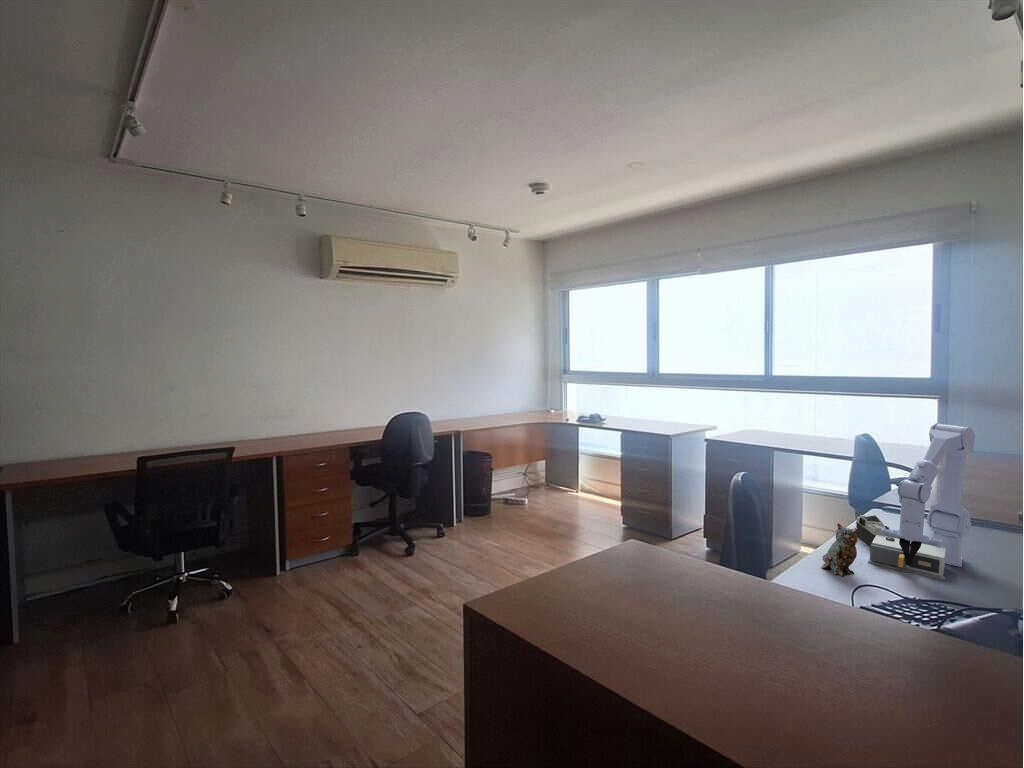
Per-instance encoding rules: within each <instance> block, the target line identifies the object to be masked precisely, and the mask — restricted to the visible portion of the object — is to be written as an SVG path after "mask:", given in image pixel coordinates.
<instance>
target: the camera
mask: <svg viewBox="0 0 1024 768" xmlns="http://www.w3.org/2000/svg"><path fill="white" fill-rule="evenodd" d="M855 524H856V525H855V528H856V527H857V528H858V529H857V531H856V533H857V536H858V539H857V540H858V541H860V542H861V541H862V542H863V543H862V542H861V543H862V544H864V545H865V546H866V547H867V546H868V547H867V548H868V549H870V547H871V545H872V542H873V540H874V538H875V536H876V535H881V530H882V528H883V529H889V530H891V529H890V527H889V526H887V525H884V523H883V522H882V520H880V518H879V517H878V516H877V515H876V514H875V515H870V516H865V515H864V514H859V516H857V517H856V522H855Z"/></svg>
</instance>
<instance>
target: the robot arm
mask: <svg viewBox="0 0 1024 768" xmlns="http://www.w3.org/2000/svg"><path fill="white" fill-rule="evenodd" d="M928 435H929V441H930V442H929V443H930V444H929V447H928V448H927V450H926V454H925V456H924V458H923V460H920V461H917V462H915V463H916V464H915V465H914V466H913V469H912V470H911V472H910V474H909V475H908V477H907V478H906V479H904V480H901V481H900V482H899V484H898V488H897V494H898V498H899V499H898V501H899V504H900V518H899V530H896V529H890V530H889V529H883V528H882V530H881V536H884V537H885V536H887V537H892V538H897V539H900V540H899V544H900V546H901V548H902V551H903V553H904V556H905V561H906V565H908V566H911V565H912V561H913V558H914V556H915V554H916V553H917V551H918V550H919V549H920V547H921V544H927V545H931V546H936V547H938V548H941V547H942V548H946V555H945V564H946V565H951V566H955V567H962V566H963V556H962V546H963V537H965V536H967V535H969V533H970V531H971V527H972V521H971V513H970V511H969V510H967V509H966V508H965V507H964V506H963V505H962V504H961V499H962V491H963V484H964V477H965V468H966V462H967V461H966V460H967V454H971V453H973V450H974V447H975V439H976V434H975V432H974V429H973V428H972V427H971V426H960V425H952V424H944V423H943V424H942V423H939V422H935V423H933V424H932V425H931V427H930V428H929V432H928ZM944 457H945V462H944V469H943V478H942V486H941V494H940V495H941V496H940V501H939V502H935V503H933V504H931V505H930V508H929V511H928V514H927V516H926V523H927V525H928V527H929V528H930V529H931V530H930V531H932V532H933V535H932V537H931V536H928V535H924V528H925V527H924V525H925V513H926V512H925V511H926V503H927V502H928V501H929V499H930V497H931V491H932V490H933V489H932V488H933V486H932V485H933V482H934V480H935V479H936V477H937V475H938V474H939V471H940V470H939V468H938V466H939V464H940V463H941V461H942V460H943V458H944ZM910 541H911V543H910ZM909 552H910V555H909Z"/></svg>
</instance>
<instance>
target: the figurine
mask: <svg viewBox="0 0 1024 768" xmlns="http://www.w3.org/2000/svg"><path fill="white" fill-rule="evenodd" d="M857 529H858V528H857V527H856V526H855V527H853V528H848V527H844V526H843V525H842V524H840V523H839V522H838V523H837V528H836V530H835V541H834V542H832V544H831V545H830V547H829V548H828V550H827V552H826V553H825V554H824V555H822V557H821V558H822V561H823V562H824V564H822V565H821V566H820V569H822V570H826V571H829V572H830V571H831V572H833V575H834V576H839V577H841V578H842V577H845V576H846V577H847V576H850V575H854V574H855V571H853V570H851V569H850V566H851V565H853V563H854V562H855V559H856V558H857V554H858V551H857V547H856V545H857V543H858V541H859V539H858V536H857V533H856V531H857Z"/></svg>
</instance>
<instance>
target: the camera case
mask: <svg viewBox="0 0 1024 768" xmlns="http://www.w3.org/2000/svg"><path fill="white" fill-rule="evenodd" d="M899 540H900V539H897V538H892V537H887V536H885V537H884V536H881V535H876V536H875V538H874V540H873V542H872V545H876V546H881V547H885V548H890V549H895V550H899V551H902V548H901V546H900V544H899ZM910 543H911V541H910ZM909 555H910V552H909ZM945 555H946V548H942V547H941V548H938V547H936V546H931V545H927V544H921V547H920V549H919V550H918V551H917V553H916V554H915V556H914V558H913V561H912V565H911V566H908V565H906V568H901V567H898V566H895V565H890V564H886V563H882V562H877V561H873V560H870V559H868V560H867V563H869V564H872V565H875V566H876V565H877V566H881V567H885V568H890V569H894V570H899V571H903V572H906V573H910V574H915V575H919V576H924V577H929V578H933V579H937V580H941V581H945V578H946V577H945V576H944V574H945V573H944V572H945Z"/></svg>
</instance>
